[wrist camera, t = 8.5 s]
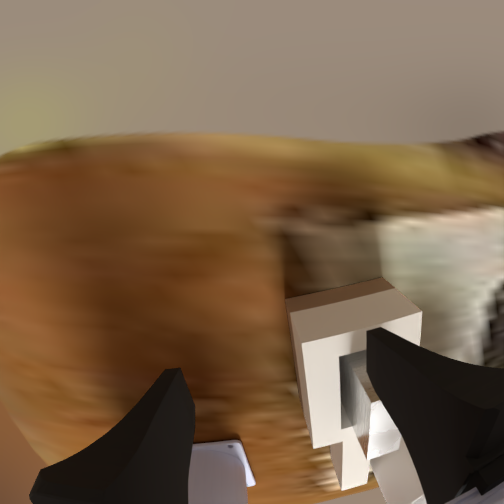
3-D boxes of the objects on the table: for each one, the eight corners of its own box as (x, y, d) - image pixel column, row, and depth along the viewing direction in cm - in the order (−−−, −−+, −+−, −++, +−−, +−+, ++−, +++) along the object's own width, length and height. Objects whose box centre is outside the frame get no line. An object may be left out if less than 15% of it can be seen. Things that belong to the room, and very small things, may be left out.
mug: (469, 371, 25) (527, 433, 15) (450, 425, 27) (492, 485, 17) (364, 405, 24) (409, 495, 14) (355, 458, 27) (385, 535, 17)
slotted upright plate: (307, 462, 26) (318, 505, 21) (284, 299, 21) (301, 343, 16) (375, 443, 26) (393, 482, 21) (382, 277, 21) (422, 311, 16)
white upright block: (335, 388, 21) (366, 460, 14) (331, 331, 20) (371, 403, 13) (361, 381, 21) (398, 449, 14) (361, 323, 20) (409, 389, 13)
